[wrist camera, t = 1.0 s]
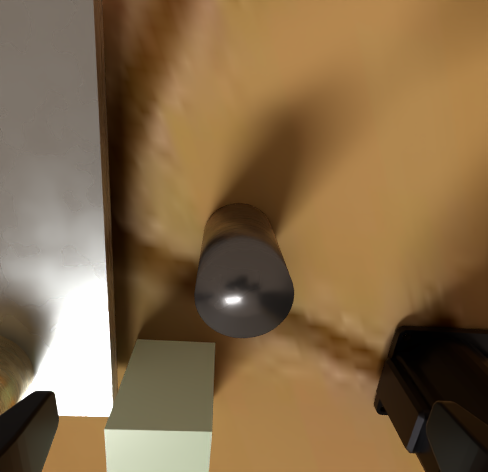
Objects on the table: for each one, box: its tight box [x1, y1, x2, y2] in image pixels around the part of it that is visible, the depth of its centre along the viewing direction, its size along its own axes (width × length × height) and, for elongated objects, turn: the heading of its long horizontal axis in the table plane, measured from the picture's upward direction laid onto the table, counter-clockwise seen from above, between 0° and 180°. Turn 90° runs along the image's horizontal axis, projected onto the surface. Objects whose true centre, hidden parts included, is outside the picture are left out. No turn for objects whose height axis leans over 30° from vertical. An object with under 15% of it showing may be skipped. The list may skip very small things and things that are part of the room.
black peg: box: [195, 203, 294, 338], centre depth 16 cm, size 4×4×6 cm
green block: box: [104, 339, 215, 472], centre depth 19 cm, size 4×4×6 cm
